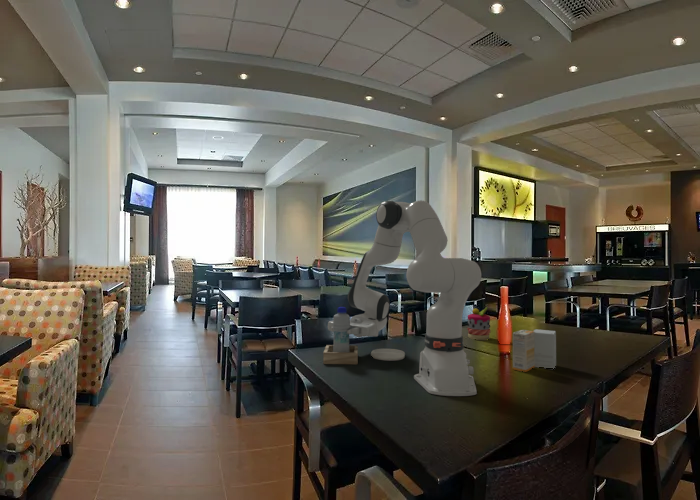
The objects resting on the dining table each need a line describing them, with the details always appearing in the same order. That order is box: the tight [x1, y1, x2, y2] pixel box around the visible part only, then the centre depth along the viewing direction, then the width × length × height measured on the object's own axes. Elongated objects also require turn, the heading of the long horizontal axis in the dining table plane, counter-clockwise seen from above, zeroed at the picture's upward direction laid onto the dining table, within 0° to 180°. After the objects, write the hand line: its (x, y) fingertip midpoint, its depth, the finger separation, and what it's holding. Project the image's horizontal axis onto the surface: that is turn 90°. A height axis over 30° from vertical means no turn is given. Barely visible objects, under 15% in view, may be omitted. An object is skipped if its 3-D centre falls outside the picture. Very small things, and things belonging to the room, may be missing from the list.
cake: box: [466, 306, 491, 341], centre depth 193 cm, size 10×11×15 cm
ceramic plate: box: [370, 348, 406, 362], centre depth 157 cm, size 13×13×2 cm
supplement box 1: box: [512, 329, 536, 373], centre depth 142 cm, size 8×5×13 cm, turn 135°
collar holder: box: [322, 344, 359, 365], centre depth 152 cm, size 12×12×4 cm
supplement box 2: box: [533, 328, 557, 370], centre depth 146 cm, size 7×7×13 cm
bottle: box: [332, 306, 351, 352], centre depth 152 cm, size 7×7×20 cm
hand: (340, 330), depth 151 cm, fingers closed on bottle, 6 cm apart
